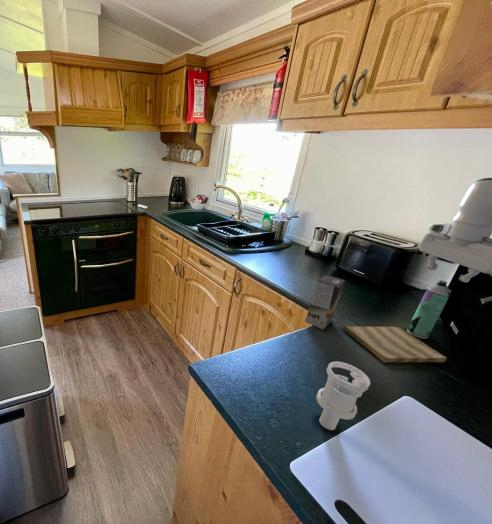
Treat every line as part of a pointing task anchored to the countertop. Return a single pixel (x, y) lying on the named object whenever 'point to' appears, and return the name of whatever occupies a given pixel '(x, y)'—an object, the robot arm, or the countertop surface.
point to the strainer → (340, 395)
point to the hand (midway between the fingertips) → (446, 274)
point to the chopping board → (394, 344)
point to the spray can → (429, 310)
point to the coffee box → (324, 301)
